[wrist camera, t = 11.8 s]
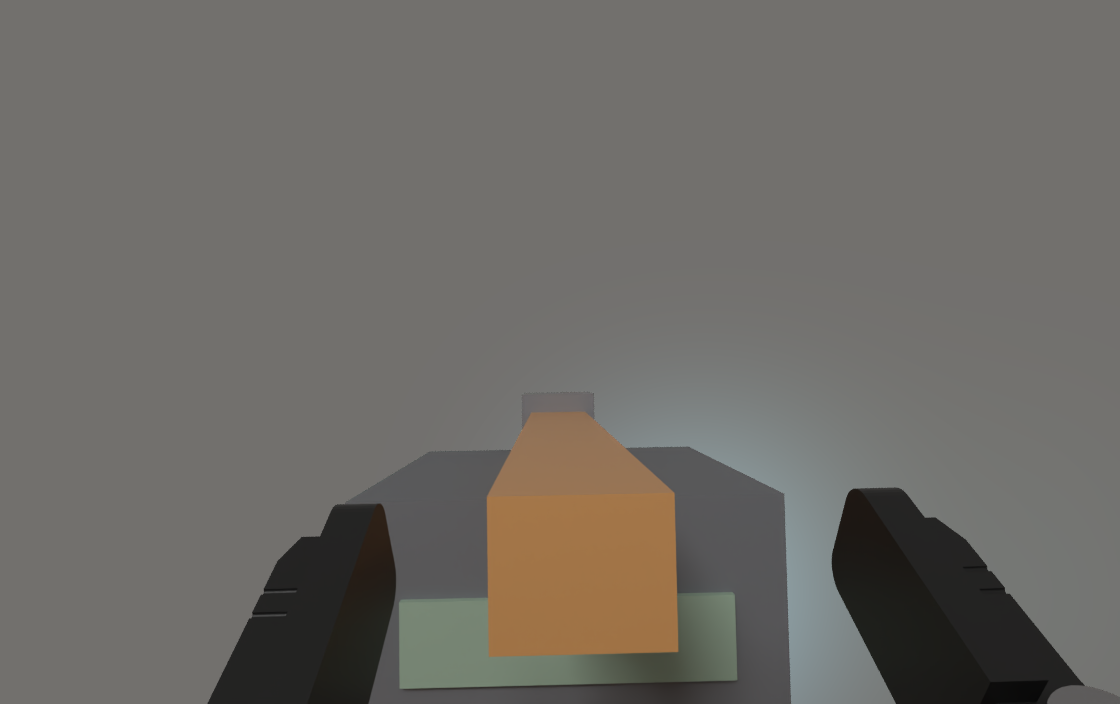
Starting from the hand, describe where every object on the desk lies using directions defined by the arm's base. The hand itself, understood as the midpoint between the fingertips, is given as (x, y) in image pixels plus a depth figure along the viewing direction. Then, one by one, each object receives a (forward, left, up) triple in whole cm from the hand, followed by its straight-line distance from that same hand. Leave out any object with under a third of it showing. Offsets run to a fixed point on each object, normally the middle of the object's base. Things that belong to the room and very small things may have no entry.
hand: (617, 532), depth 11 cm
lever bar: (+3, +13, -2) cm, 14 cm away
